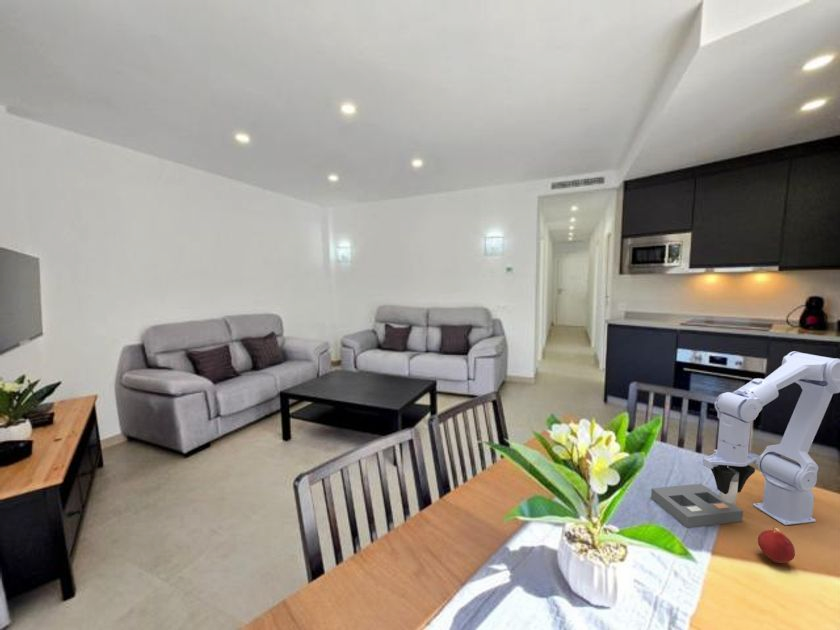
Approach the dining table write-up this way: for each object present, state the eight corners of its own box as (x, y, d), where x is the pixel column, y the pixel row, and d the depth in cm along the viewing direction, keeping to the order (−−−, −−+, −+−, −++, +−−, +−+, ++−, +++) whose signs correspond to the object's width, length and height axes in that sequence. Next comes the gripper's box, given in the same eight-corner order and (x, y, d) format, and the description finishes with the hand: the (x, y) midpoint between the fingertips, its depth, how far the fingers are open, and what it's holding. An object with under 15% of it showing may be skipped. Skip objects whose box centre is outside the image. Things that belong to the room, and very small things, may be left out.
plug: (727, 495, 91) (729, 466, 90) (739, 503, 88) (742, 473, 87) (716, 496, 91) (719, 467, 90) (728, 504, 88) (731, 474, 87)
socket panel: (700, 493, 103) (701, 482, 103) (742, 521, 91) (743, 509, 91) (650, 498, 101) (651, 487, 101) (687, 527, 89) (688, 515, 89)
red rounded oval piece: (782, 554, 80) (786, 522, 79) (800, 575, 75) (804, 541, 74) (751, 548, 82) (754, 517, 81) (765, 568, 77) (769, 535, 76)
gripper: (741, 431, 92) (737, 478, 94) (693, 435, 90) (689, 484, 92) (771, 444, 85) (766, 495, 87) (719, 449, 84) (715, 501, 85)
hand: (728, 490), depth 89 cm, fingers closed on plug, 3 cm apart
